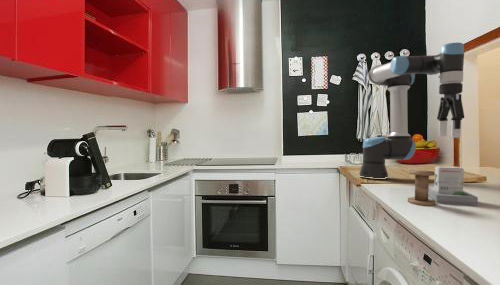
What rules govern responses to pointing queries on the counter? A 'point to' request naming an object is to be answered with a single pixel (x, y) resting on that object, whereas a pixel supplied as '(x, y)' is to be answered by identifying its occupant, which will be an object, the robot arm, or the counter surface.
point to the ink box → (449, 180)
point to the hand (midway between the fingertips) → (448, 137)
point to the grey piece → (453, 198)
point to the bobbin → (421, 188)
